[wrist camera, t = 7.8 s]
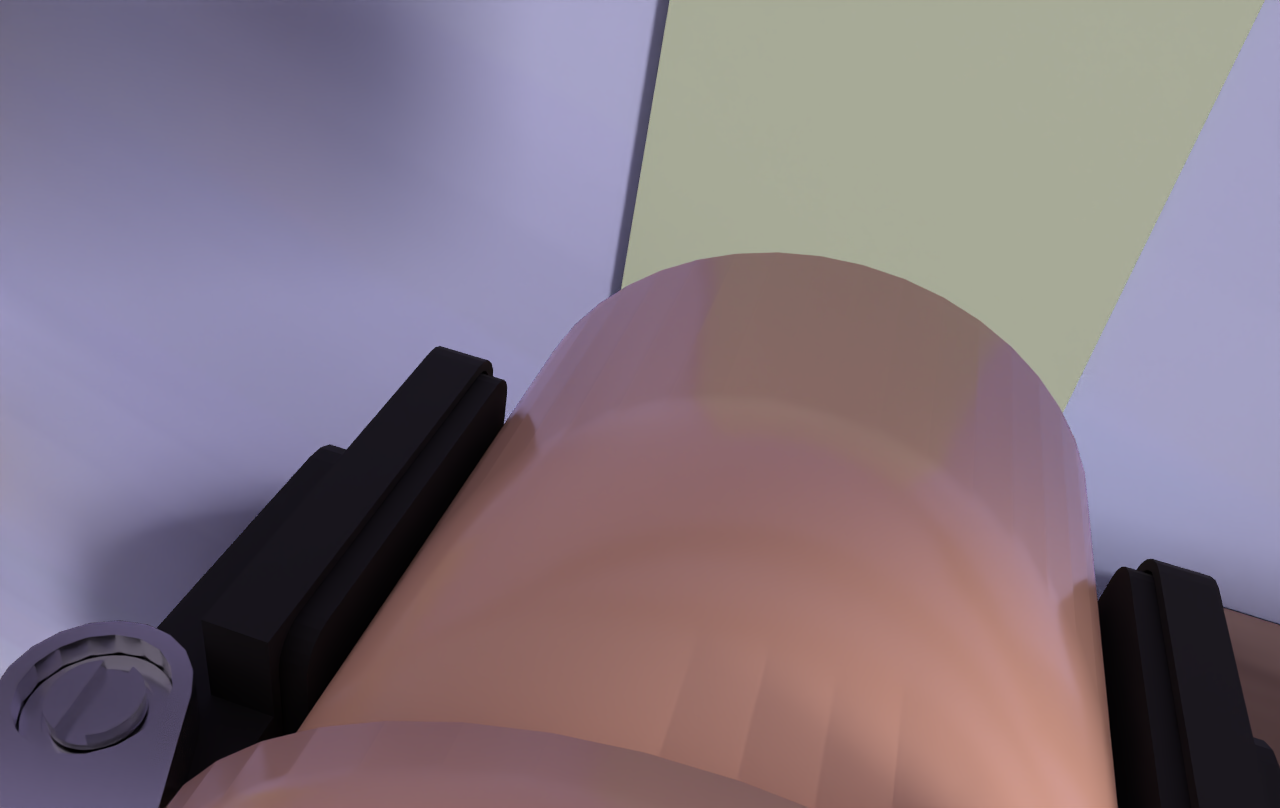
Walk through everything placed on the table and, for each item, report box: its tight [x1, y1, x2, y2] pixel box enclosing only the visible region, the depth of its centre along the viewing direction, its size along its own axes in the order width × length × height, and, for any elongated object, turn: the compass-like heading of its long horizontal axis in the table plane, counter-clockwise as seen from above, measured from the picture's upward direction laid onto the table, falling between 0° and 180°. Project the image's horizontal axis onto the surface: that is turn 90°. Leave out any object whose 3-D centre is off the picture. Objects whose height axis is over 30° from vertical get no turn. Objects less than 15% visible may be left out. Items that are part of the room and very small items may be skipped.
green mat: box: [621, 0, 1265, 413], centre depth 19 cm, size 14×9×1 cm, turn 171°
